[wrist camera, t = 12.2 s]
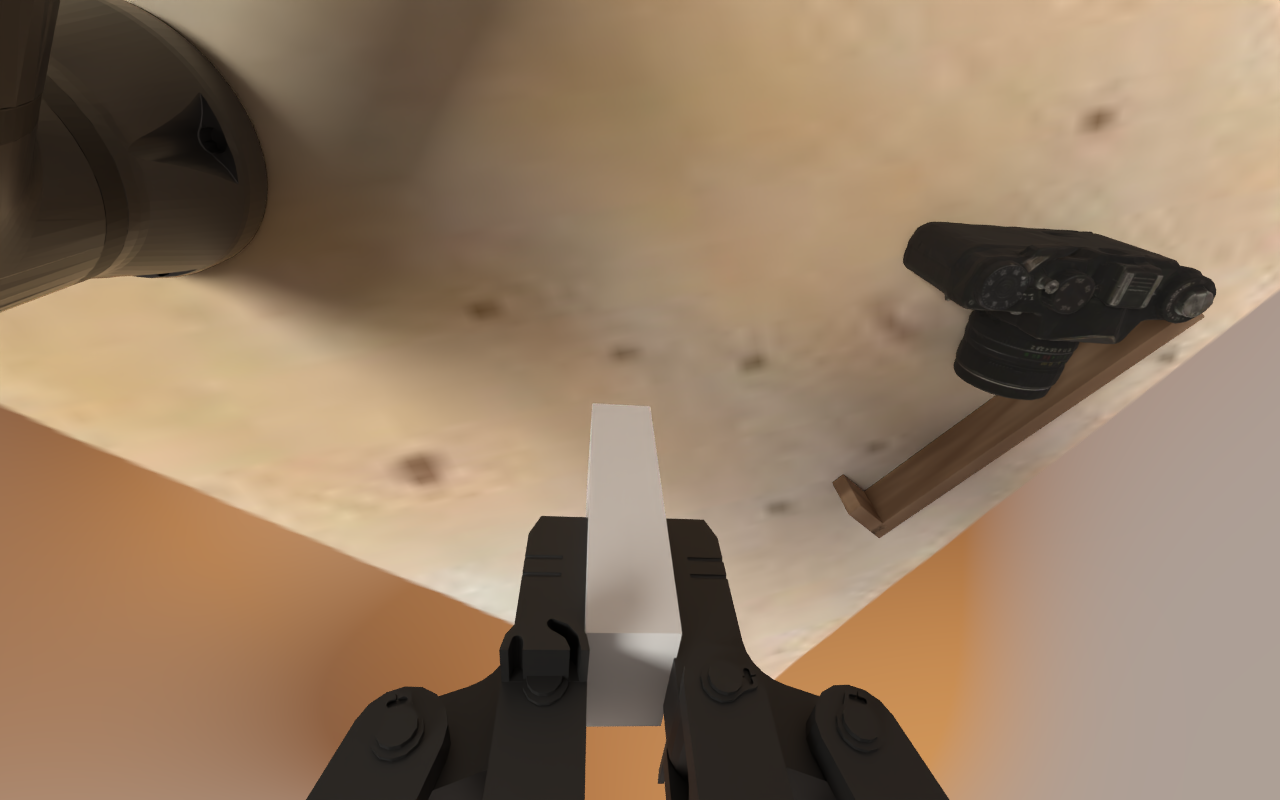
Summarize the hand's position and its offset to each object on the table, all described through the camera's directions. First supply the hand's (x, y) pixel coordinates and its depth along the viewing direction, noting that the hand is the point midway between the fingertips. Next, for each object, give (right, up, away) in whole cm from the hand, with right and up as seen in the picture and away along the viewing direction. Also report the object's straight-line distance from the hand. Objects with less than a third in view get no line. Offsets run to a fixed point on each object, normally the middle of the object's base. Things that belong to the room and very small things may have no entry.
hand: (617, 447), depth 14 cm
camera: (+25, +9, +24) cm, 36 cm away
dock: (+28, +1, +29) cm, 40 cm away
